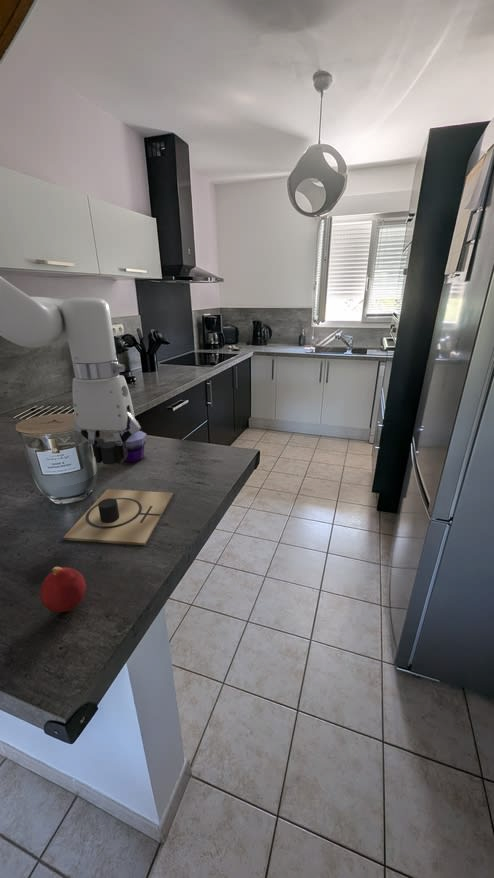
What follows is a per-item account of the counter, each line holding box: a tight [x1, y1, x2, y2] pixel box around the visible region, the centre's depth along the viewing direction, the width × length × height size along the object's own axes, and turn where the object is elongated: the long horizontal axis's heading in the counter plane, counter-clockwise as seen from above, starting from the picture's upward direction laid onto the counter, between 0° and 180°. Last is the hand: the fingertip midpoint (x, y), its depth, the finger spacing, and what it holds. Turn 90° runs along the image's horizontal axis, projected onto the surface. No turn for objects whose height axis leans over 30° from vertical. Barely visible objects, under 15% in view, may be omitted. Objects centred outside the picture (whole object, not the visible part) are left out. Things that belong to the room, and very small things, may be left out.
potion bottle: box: [113, 424, 148, 464], centre depth 98 cm, size 9×9×12 cm
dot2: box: [100, 440, 118, 466], centre depth 71 cm, size 4×4×4 cm
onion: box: [39, 566, 87, 614], centre depth 51 cm, size 6×6×8 cm
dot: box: [98, 498, 119, 523], centre depth 72 cm, size 4×4×4 cm
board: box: [62, 488, 174, 546], centre depth 75 cm, size 16×18×1 cm
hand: (111, 459), depth 72 cm, fingers closed on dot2, 3 cm apart
